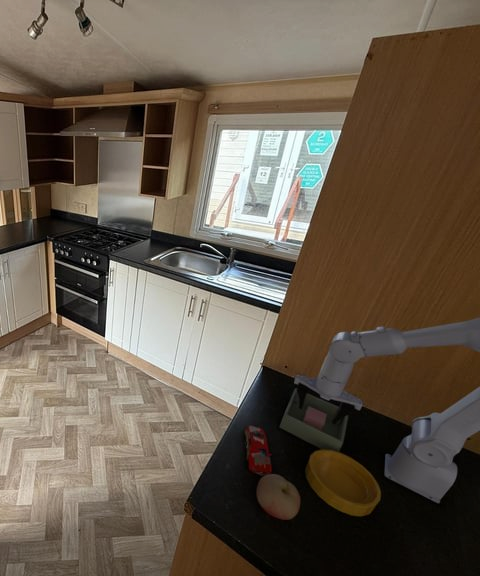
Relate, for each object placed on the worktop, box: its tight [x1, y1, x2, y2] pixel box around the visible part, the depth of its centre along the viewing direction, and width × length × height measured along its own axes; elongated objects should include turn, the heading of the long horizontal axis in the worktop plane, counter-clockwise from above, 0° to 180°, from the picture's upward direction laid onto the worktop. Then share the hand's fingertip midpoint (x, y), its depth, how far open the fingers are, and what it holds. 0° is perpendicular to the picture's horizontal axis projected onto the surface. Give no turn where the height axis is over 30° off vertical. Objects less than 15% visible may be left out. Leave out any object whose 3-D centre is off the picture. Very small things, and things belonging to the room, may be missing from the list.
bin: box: [279, 387, 350, 452], centre depth 86 cm, size 13×13×6 cm
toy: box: [302, 406, 327, 431], centre depth 86 cm, size 4×4×4 cm
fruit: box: [256, 473, 301, 521], centre depth 67 cm, size 8×8×8 cm
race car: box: [243, 425, 273, 477], centre depth 79 cm, size 13×5×4 cm, turn 161°
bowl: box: [304, 449, 382, 517], centre depth 72 cm, size 13×13×4 cm
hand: (316, 413), depth 85 cm, fingers open, 7 cm apart
